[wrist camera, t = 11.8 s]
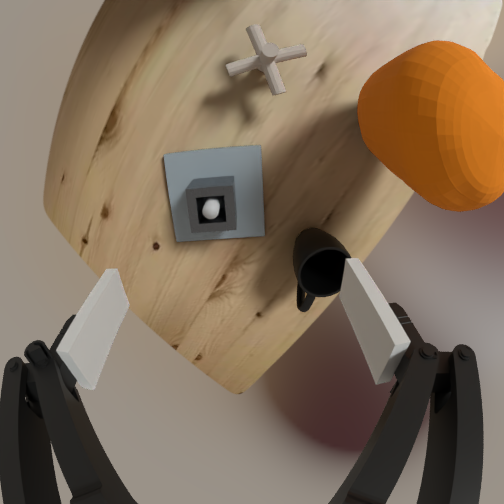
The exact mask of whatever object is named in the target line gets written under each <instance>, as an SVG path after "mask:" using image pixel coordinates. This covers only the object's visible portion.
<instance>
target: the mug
mask: <svg viewBox="0 0 504 504" xmlns="http://www.w3.org/2000/svg"><path fill="white" fill-rule="evenodd" d="M348 258H351V256H350V254H349V253H348V252H347V250H346V249H345V247H344V246H343V245H342V244H341V243H340V242H339V241H338V240H337V239H336V238H335V237H333V236H332V235H330V234H328V233H326V232H324V231H322V230H320V229H317V228H309V229H306V230H304V231H302V232H301V233H300V234H299V235H298V237H297V238H296V241H295V246H294V253H293V265H294V271H295V274H296V277H297V281H298V285H297V308H298V309H299V310H300V311H302V312H306V311H308V310H309V308H310V307H311V305H312V303H313V301H314V299H315V297H327V296H331V295H334V294H336V293H338V292H339V291H341V285H342V279H343V273H344V267H345V261H346V259H348ZM305 292H306V293H307V296H306V298H305Z"/></svg>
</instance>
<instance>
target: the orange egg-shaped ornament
mask: <svg viewBox="0 0 504 504" xmlns="http://www.w3.org/2000/svg"><path fill="white" fill-rule="evenodd" d="M357 114H358V122H359V126H360V130H361V134H362V139H363V140H364V142H365V144H366V145H367V147H368V148H369V150H370V151H371V152H372V153H373V154H374V155H375V156H376V157H377V158H378V159H379V160H380V161H381V162H382V163H383V164H384V165H385V166H386V167H387V168H388V169H389V170H390V171H391V172H393V173H394V174H395V175H396V176H397V177H399V178H400V179H401V180H403V181H404V182H405V183H406V184H407V185H408V186H409V187H410V188H412V189H413V190H414V191H415V192H417V193H418V194H419V195H420V196H422V197H423V198H424V199H425V200H427V201H428V202H430V203H431V204H433V205H436V206H438V207H440V208H442V209H445V210H451V211H458V212H461V211H468V210H475V209H478V208H480V207H483V206H485V205H488V204H490V203H492V202H493V201H495V200H496V199H497V198H498V197H500V196H501V195H502V193H503V192H504V81H503V79H502V78H501V77H499V76H498V75H497V74H496V73H495V72H493V71H492V70H491V69H490V68H489V67H488V66H487V65H486V64H485V62H484V61H483V60H482V59H481V58H480V57H479V56H478V55H477V54H476V53H475V52H474V51H472V50H471V49H468V48H466V47H463V46H461V45H459V44H456V43H454V42H450V41H431V42H428V43H424V44H421V45H418V46H416V47H414V48H412V49H410V50H408V51H406V52H404V53H402V54H401V55H399V56H397V57H396V58H394V59H393V60H391V61H389V62H388V63H386V64H385V65H383V66H382V67H381V68H379V69H378V70H377V71H376V72H374V73H373V74H372V75H371V76H370V78H369V79H368V80H367V81H366V83H365V84H364V86H363V88H362V90H361V91H360V95H359V99H358V107H357Z"/></svg>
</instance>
